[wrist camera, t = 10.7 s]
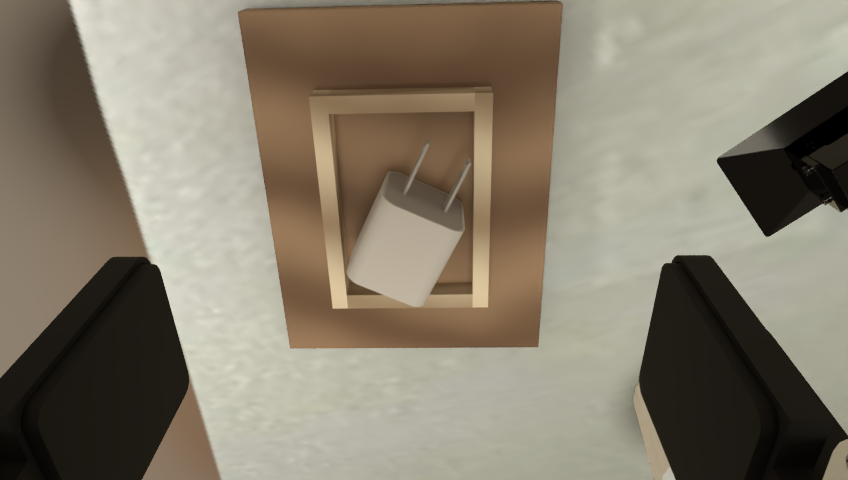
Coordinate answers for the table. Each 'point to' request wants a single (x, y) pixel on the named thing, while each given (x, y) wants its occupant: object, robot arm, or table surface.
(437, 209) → the usb wall charger
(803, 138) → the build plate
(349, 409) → the table surface
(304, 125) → the jig board
